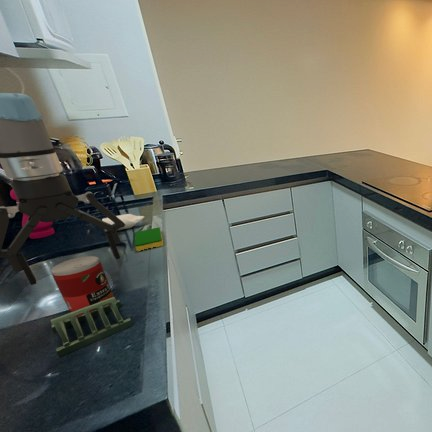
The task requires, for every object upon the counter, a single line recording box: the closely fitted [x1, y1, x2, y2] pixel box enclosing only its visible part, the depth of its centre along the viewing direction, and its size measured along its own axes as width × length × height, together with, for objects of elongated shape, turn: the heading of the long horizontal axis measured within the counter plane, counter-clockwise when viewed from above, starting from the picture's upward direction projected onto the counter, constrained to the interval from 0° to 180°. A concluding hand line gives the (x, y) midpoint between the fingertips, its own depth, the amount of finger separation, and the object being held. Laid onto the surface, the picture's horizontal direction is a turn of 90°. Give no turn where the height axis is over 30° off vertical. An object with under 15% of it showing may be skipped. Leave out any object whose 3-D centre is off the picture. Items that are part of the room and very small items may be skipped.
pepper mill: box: [9, 188, 56, 240], centre depth 104 cm, size 7×7×20 cm
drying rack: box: [50, 296, 133, 358], centre depth 61 cm, size 11×11×8 cm
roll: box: [101, 213, 145, 233], centre depth 112 cm, size 6×12×6 cm, turn 127°
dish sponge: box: [134, 227, 164, 252], centre depth 102 cm, size 7×14×2 cm, turn 38°
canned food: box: [50, 255, 114, 314], centre depth 68 cm, size 8×8×11 cm
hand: (78, 268), depth 66 cm, fingers open, 13 cm apart
